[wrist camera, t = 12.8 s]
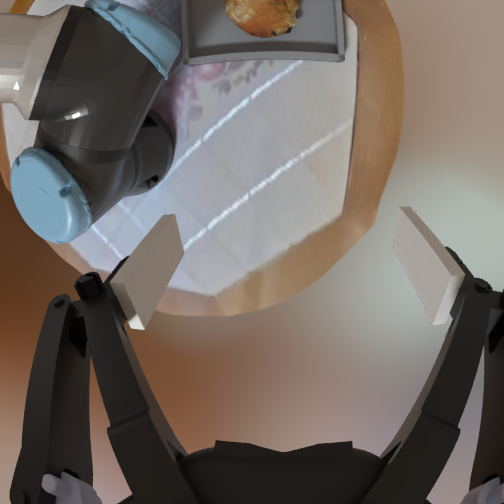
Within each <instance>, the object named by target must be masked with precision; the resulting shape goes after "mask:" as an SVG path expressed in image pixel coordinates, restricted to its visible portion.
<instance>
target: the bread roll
mask: <svg viewBox="0 0 504 504" xmlns="http://www.w3.org/2000/svg"><path fill="white" fill-rule="evenodd" d="M300 6H301V4H300V3H299V0H224V11H225V13H226V15H227V16H228V17H229V18H230V20H232V21H233V22H234V23H235V24H236V25H237V26H238V27H239V28H240V29H242V30H244V31H245V32H246V33H248V34H249V35H251V36H255V37H260V38H270V37H276V36H280V35H282V34H288V33H290V32H291V27H295V26H296V25H298V24H299V20H298V19H297V15H296V13H297V12H298V10H299V8H300Z"/></svg>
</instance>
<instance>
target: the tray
mask: <svg viewBox="0 0 504 504" xmlns="http://www.w3.org/2000/svg"><path fill="white" fill-rule="evenodd" d="M299 3H300V4H301V6H300V8H299V10H298V12H297V13H296V15H297V19H298V20H299V24H298V25H296V26H295V27H291V32H290V33H288V34H282V35H280V36H276V37H270V38H260V37H255V36H251V35H249V34H248V33H246V32H245V31H244V30H242V29H240V28H239V27H238V26H237V25H236V24H235V23H234V22H233V21H232V20H230V18H229V17H228V16H227V15H226V13H225V11H224V0H181V18H182V47H183V65H187V66H194V65H202V64H210V63H219V62H230V61H243V60H268V59H292V60H316V61H330V62H342V61H344V60H345V50H344V31H343V16H342V5H341V0H299Z"/></svg>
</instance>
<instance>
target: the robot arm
mask: <svg viewBox="0 0 504 504" xmlns="http://www.w3.org/2000/svg"><path fill="white" fill-rule="evenodd" d="M84 5H85V7H79V6H75V5H69V4H67V5H65V6H63V7H62V8H60V9H58V10H56V11H54V12H53V13H51V14H49V15H46V16H37V15H27V14H11V13H0V103H13V104H14V105H15V106H16V107H17V108H18V110H19V111H20V113H21V115H22V116H23V118H24V119H25V120H36V121H40V122H39V126H38V130H37V134H36V139H35V143H34V146H33V147H29V148H26V149H25V150H23V152H22V153H21V154H20V155H19V156H18V157H17V158H16V159H15V161H14V163H13V166H12V169H11V179H10V180H11V190H12V194H13V198H14V201H15V203H16V206H17V208H18V210H19V212H20V214H21V216H22V217H23V219H24V220H25V222H26V223H27V224H28V226H29V227H30V228H31V229H32V230H33V231H34V232H35V233H37V234H38V235H39V236H40V237H42V238H43V239H45V240H47V241H50V242H53V243H58V244H62V243H68V242H71V241H72V240H74V239H75V238H77V237H78V236H80V235H81V234H83V233H85V232H86V231H87V230H88V229H89V228H90V226H91V225H92V224H94V223H95V222H96V221H97V220H98V219H99V218H100V217H101V216H103V215H104V214H105V213H106V212H107V211H108V210H109V209H111V208H112V207H113V206H114V205H115V204H117V203H118V202H119V201H120V200H121V199H122V198H124V197H127V196H134V195H139V194H143V193H145V192H147V191H149V190H151V189H152V188H154V187H155V186H156V185H157V184H158V183H160V182H161V181H162V180H163V179H164V177H165V176H166V174H167V173H168V171H169V169H170V167H171V164H172V160H173V153H174V146H173V139H172V135H171V132H170V130H169V128H168V126H167V124H166V123H165V121H164V120H163V119H162V118H161V117H160V116H159V115H158V114H157V113H156V112H154V111H153V110H151V109H150V107H151V105H152V104H153V102H154V100H155V98H156V96H157V94H158V92H159V90H160V88H161V86H162V85H163V83H164V81H165V80H167V79H168V77H169V75H168V73H169V71H170V69H171V67H172V65H173V63H174V61H175V59H176V58H177V56H178V54H179V52H180V49H181V42H180V39H179V37H178V36H177V35H176V34H175V33H174V32H173V31H172V30H171V29H169V28H168V27H166V26H165V25H163V24H162V23H160V22H159V21H157V20H155V19H154V18H152V17H150V16H148V15H146V14H144V13H142V12H140V11H138V10H136V9H134V8H132V7H130V6H127V5H125V4H120V3H119V2H116V1H113V0H88V1H86V2H85V4H84ZM393 249H394V251H395V253H396V255H397V256H398V258H399V260H400V262H401V264H402V265H403V267H404V269H405V271H406V273H407V275H408V277H409V278H410V280H411V282H412V284H413V286H414V288H415V290H416V292H417V294H418V296H419V298H420V300H421V302H422V304H423V306H424V309H425V311H426V313H427V315H428V317H429V319H430V322H431V323H432V325H437V324H444V323H446V320H447V318H448V316H449V314H450V315H451V317H452V318H453V321H452V323H451V325H450V327H449V329H448V331H447V333H446V335H445V337H446V338H445V340H444V343H443V345H442V348H441V350H440V353H439V355H438V357H437V359H436V362H435V364H434V366H433V368H432V371H431V373H430V375H429V377H428V379H427V381H426V383H425V385H424V387H423V389H422V391H421V393H420V395H419V397H418V399H417V400H416V402H415V404H414V406H413V408H412V409H411V411H410V413H409V415H408V416H407V418H406V420H405V421H404V423H403V425H402V426H401V428H400V429H399V431H398V433H397V434H396V436H395V437H394V439H393V440H392V442H391V443H390V444H389V446H388V447H387V448H386V450H385V451H384V452H383V453H382V454H381V456H380V457H378V456H376V455H374V454H372V453H370V452H367V451H365V450H360V449H356V448H353V447H352V441H348V442H336V443H323V444H316V445H313V446H309V447H305V448H301V449H297V450H293V451H289V452H279V451H275V450H271V449H267V448H263V447H260V446H256V445H253V444H250V443H238V442H227V441H219V440H216V442H215V447H213V448H206V449H202V450H199V451H196V452H194V453H191V454H189V455H188V453H187V452H186V451H185V449H184V448H183V447H182V445H181V444H180V442H179V441H178V439H177V438H176V436H175V434H174V432H173V431H172V429H171V427H170V425H169V423H168V421H167V420H166V418H165V416H164V414H163V412H162V410H161V408H160V406H159V404H158V402H157V400H156V399H155V396H154V394H153V392H152V390H151V388H150V386H149V384H148V381H147V379H146V377H145V375H144V373H143V370H142V368H141V366H140V363H139V361H138V359H137V356H136V354H135V352H134V349H133V347H132V344H131V342H130V339H129V336H128V334H127V331H126V330H125V327H124V324H125V322H126V320H127V321H128V323H129V325H130V327H131V328H134V329H143V330H144V329H145V328H146V326H147V324H148V322H149V320H150V318H151V316H152V314H153V312H154V310H155V308H156V306H157V304H158V302H159V300H160V298H161V296H162V294H163V292H164V290H165V289H166V287H167V285H168V283H169V281H170V279H171V277H172V275H173V273H174V272H175V270H176V268H177V266H178V264H179V262H180V261H181V259H182V257H183V255H184V250H183V246H182V242H181V238H180V234H179V229H178V225H177V221H176V216H175V214H170V215H163V216H162V217H161V219H160V220H159V221H158V222H157V223H156V224H155V226H154V227H153V228H152V229H151V230H150V232H149V233H148V234H147V235H146V236H145V238H144V239H143V240H142V241H141V243H140V244H139V245H138V246H137V248H136V249H135V250H134V251H133V253H132V254H131V255H130V256H127V257H126V258H124V259H123V260H122V261H120V263H119V264H118V265H117V266H116V268H115V269H114V270H113V271H112V273H111V274H110V275H109V277H108V278H107V279H106V281H105V282H104V283H103V282H102V280H101V278H100V276H99V274H98V273H97V272H89V273H86V274H84V275H82V276H81V277H80V278H78V279H77V281H76V282H75V285H74V287H75V289H76V291H77V293H78V295H79V296H80V298H81V300H78V301H73V302H72V301H71V298H70V297H69V295H67V294H61V295H59V296H56V297H55V298H53V300H52V301H51V302H50V303H49V305H48V309H47V312H46V315H45V318H44V322H43V325H42V328H41V332H40V335H39V340H38V343H37V347H36V351H35V355H34V360H33V364H32V369H31V374H30V379H29V384H28V391H27V397H26V404H25V411H24V421H23V432H22V448H21V451H20V455H19V458H18V461H17V465H16V468H15V472H14V476H13V480H12V484H11V488H10V501H11V504H102V501H101V499H100V498H99V497H98V496H97V493H96V491H95V490H94V489H93V465H92V454H91V441H90V423H89V379H90V359H91V357H92V361H93V365H94V370H95V374H96V378H97V381H98V385H99V389H100V392H101V395H102V399H103V402H104V405H105V409H106V412H107V414H108V418H109V421H110V427H108V428H107V433H108V437H109V440H110V443H111V445H112V448H113V451H114V453H115V456H116V458H117V461H118V463H119V465H120V468H121V470H122V473H123V474H124V477H125V479H126V481H127V483H128V486H129V488H130V490H131V492H132V495H131V496H129V497H127V498H126V499H124V500H123V501H121V502H120V503H118V504H431V503H430V502H429V501H428V500H427V499H426V498H427V496H428V494H429V493H430V491H431V489H432V488H433V486H434V484H435V483H436V481H437V479H438V478H439V476H440V474H441V472H442V470H443V469H444V467H445V465H446V463H447V461H448V459H449V457H450V455H451V452H452V451H453V449H454V447H455V444H456V442H457V440H458V437H459V435H460V429H459V428H458V424H459V421H460V419H461V416H462V414H463V411H464V408H465V406H466V403H467V400H468V397H469V395H470V392H471V389H472V386H473V382H474V379H475V376H476V373H477V369H478V365H479V362H480V358H481V354H482V350H483V346H484V361H485V362H484V366H485V367H484V394H483V406H482V416H481V425H480V431H479V438H478V444H477V449H476V454H475V459H474V463H473V469H472V473H471V479H470V486H469V493H468V494H467V495H466V496H465V497H464V499H463V501H462V502H461V503H460V504H504V290H503V292H497V291H493V290H492V287H491V286H490V284H488V282H486V281H484V280H483V279H480V278H474V276H473V275H472V274H471V272H470V271H469V270H468V268H467V267H466V266H465V264H463V262H462V260H461V259H459V257H458V256H457V254H456V253H455V252H454V251H453V250H451V249H450V248H449V247H444V246H443V245H442V243H441V242H440V241H439V240H438V239H437V237H436V236H435V235H434V234H433V232H432V231H431V230H430V229H429V228H428V227H427V225H426V224H425V223H424V222H423V221H422V220H421V219H420V217H419V216H418V215H417V214H416V213H415V212H414V211H413V210H412V209H411V208H410V207H399V209H398V217H397V224H396V230H395V237H394V242H393Z"/></svg>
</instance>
